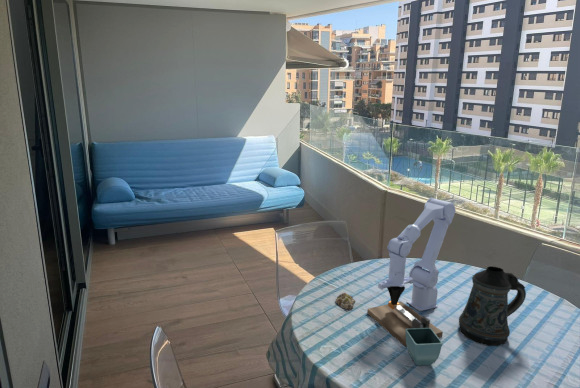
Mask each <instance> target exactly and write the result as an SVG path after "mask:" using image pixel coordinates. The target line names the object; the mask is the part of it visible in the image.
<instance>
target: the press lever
mask: <svg viewBox="0 0 580 388" xmlns="http://www.w3.org/2000/svg"><path fill="white" fill-rule="evenodd" d="M387 303H388V306H389V307H390V308H391V309H394V310H396V311H397V312H398V313H399V314H401V315H402V316H403V317H404V318H405V319H407V320H408V321H409V322H410V323H411V324H412V320H413V319H416V318H415V317H414V316H413V315H411V314H410V313H409V312H408V311H406V310H405V309H404V308H402V307H401V306H400V304H399V303H397V304H393V303H392V302H391V300H390V301H388V302H387ZM416 320H417V321H419V320H418V319H416ZM419 322H420V321H419ZM420 323H421V322H420ZM420 328H425V325H424V323H421V326H420Z"/></svg>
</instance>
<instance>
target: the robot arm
mask: <svg viewBox="0 0 580 388" xmlns="http://www.w3.org/2000/svg"><path fill="white" fill-rule="evenodd" d="M423 208H424V209H423V210H422V212H421V213H420V214H419V215H418V217H417V219H416V220H415V222H414V223H413V224H408V225H407V226H406V227H405V228H404V229H403V230H402V232H401V233H400V234H399V235H398V236H397V237H393V238H392V239H390V240H389V242H388V245H387V247H386V248H387V251H388V256H389V267H388V269H389V270H388V278H387V279H385V280H382V281H381V282H380V281H379V282H378V285H377V287H378V289H379V290H381V291H382V290H384V289H387V291H388V294H389V297H390V301H391V302H392V303H393V304H397V303H398V302H399V300H400V298H401V295H402V294H403V292H405V290H406V287H405V285H406V284H412V291H411V292H412V294H411V299H409V300H406V303H407V304H408V305H410V306H412V307H413V308H414V309H415V310H417V311H419V312H422V311H427V310H430V309H434V308H438V305H437V302H438V301H437V300H438V294H439V293H438V287H437V284H438V281H439V273H440V271H439V269H438V268H437V266H436V265H435V264H436V261H437V258H438V256H439V253H440V250H441V248H442V245H443V242H444V239H445V237H446V234H447V231H448V228H449V226H450V225H452V222H453V220H454V217H455V215H456V214H455V213H456V211H457V210H456V205H455V204H454V202H451V201H446V200H443V199H437V198H434V197H430V198H427V200H426V202H425V203H424V207H423ZM432 221H433V223H434V224H433V226H432V230H431V232H430V235H429V238H428V240H427V244H426V246H425V248H424V251H423V254H422V257H421V259H420V260H418V261H415V262H414V263H413V266H412V268H410V271H409V274H408V275H409V276H405V271H406V262H407V256H408V255H409V254H410V252H411V250H412V248H413V244H414V243H415V242H416V241H417V240H418V239H419V238H420V236H421V234H422V233H421V231H422V230H423V229H424V228H425V227H426V226H427V225H428V224H429V223H431V222H432Z"/></svg>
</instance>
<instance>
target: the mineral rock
mask: <svg viewBox="0 0 580 388" xmlns="http://www.w3.org/2000/svg"><path fill="white" fill-rule="evenodd" d="M334 302H335V303H336V304H337V305H338V306H339V307H341V308H342V309H345V310H349V311H351V310H352V309H354V304H355V303H356V300H355V299H354V298H353V296H351V294H348V293H347V292H342V293H340V294H339V295H338V296H337V297H336V298H335V301H334Z"/></svg>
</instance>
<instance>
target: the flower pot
mask: <svg viewBox="0 0 580 388" xmlns="http://www.w3.org/2000/svg"><path fill="white" fill-rule="evenodd" d="M405 332H406V345H407V347H406V348H407V351H408V353H409V355H410V357H411V359H412V360H413V363H415V365H416V366H431V365H433V364H434V363H436V362H437V361H438V359H439V357H440V354H441V350H442V348H443V347H442V346H443V341H442V340H441V339H440V338H438V337H437V335H436V334H435V333H434V331H433V330H432V329H431V328H413V329H405Z"/></svg>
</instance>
